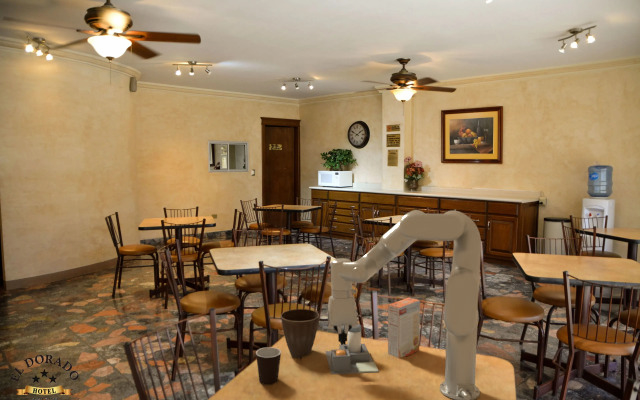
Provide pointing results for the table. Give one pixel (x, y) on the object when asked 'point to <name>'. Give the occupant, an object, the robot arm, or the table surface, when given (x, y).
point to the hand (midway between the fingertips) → (342, 343)
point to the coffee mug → (268, 365)
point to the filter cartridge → (354, 339)
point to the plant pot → (300, 330)
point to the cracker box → (403, 327)
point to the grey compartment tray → (347, 360)
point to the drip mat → (367, 367)
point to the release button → (340, 352)
